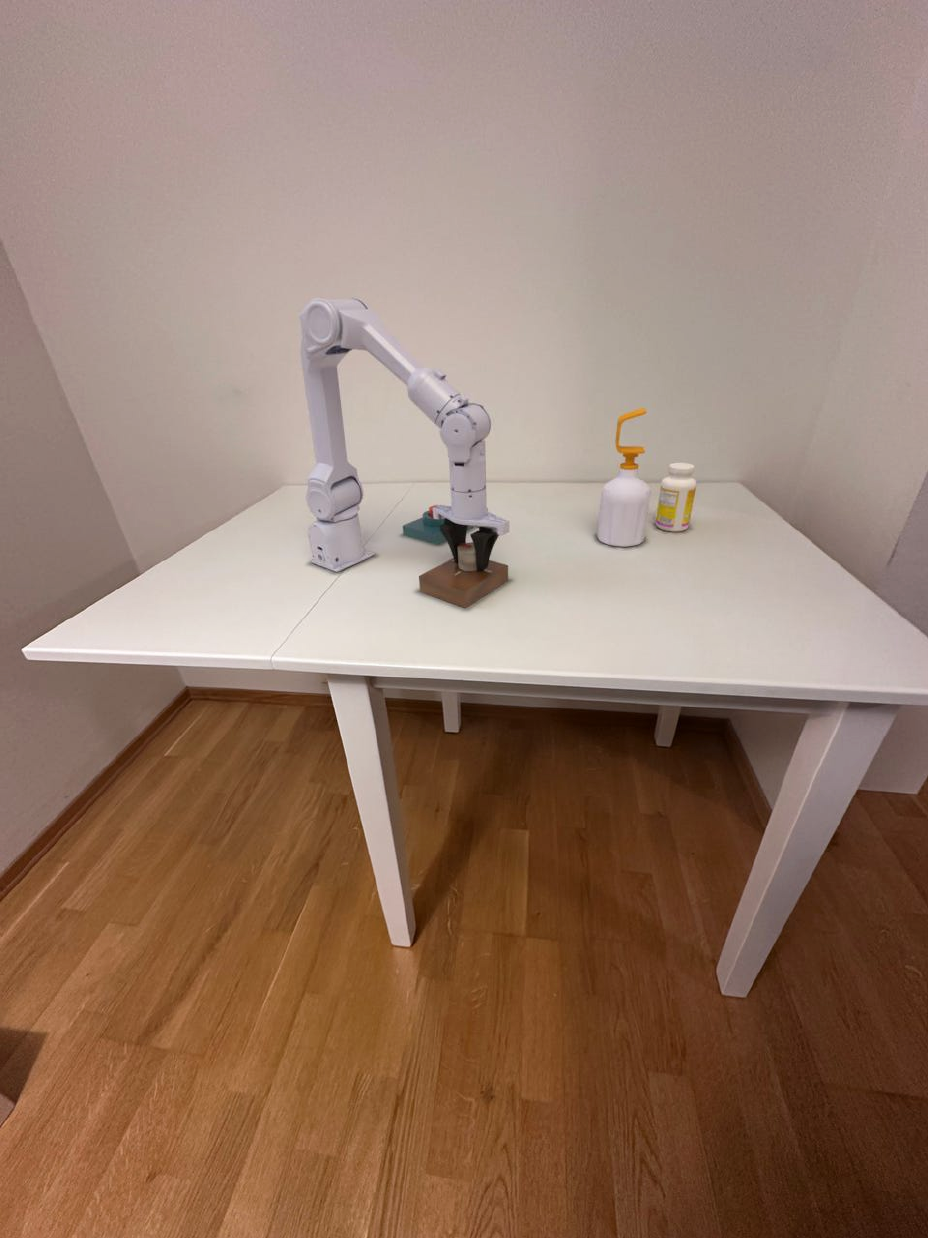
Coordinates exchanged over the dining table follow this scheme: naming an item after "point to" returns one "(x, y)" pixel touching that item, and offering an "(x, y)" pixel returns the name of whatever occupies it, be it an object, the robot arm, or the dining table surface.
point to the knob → (467, 557)
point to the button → (431, 510)
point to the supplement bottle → (676, 498)
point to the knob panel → (462, 582)
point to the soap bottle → (624, 498)
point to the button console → (426, 529)
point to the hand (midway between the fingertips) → (471, 565)
